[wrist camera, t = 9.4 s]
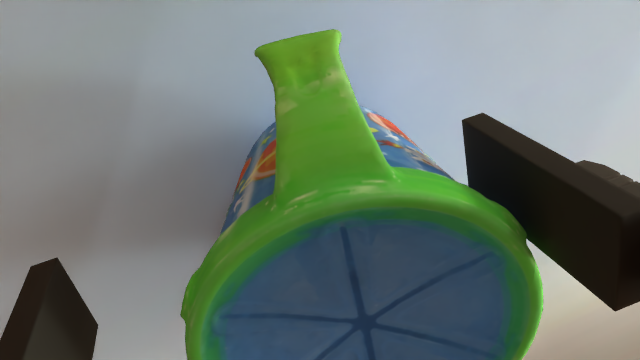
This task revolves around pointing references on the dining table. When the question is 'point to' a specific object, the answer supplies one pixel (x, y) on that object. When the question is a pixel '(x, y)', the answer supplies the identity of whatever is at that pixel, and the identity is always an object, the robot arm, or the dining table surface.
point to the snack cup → (355, 240)
